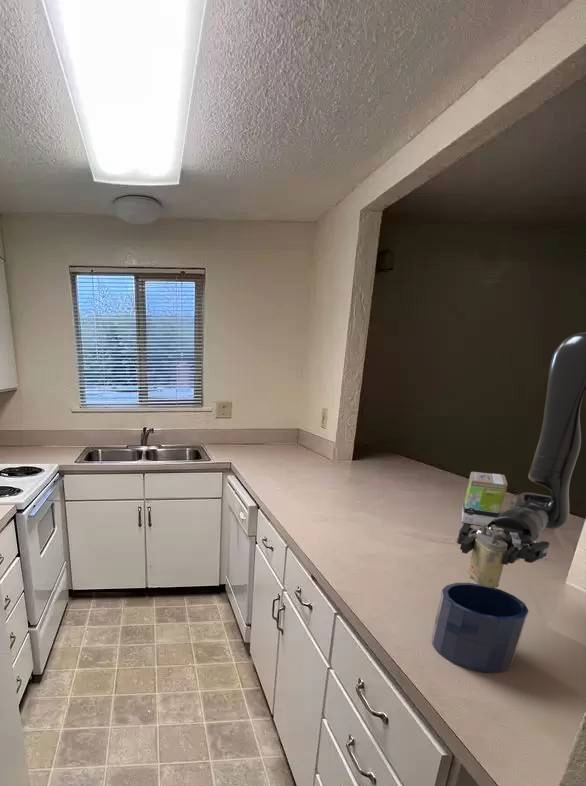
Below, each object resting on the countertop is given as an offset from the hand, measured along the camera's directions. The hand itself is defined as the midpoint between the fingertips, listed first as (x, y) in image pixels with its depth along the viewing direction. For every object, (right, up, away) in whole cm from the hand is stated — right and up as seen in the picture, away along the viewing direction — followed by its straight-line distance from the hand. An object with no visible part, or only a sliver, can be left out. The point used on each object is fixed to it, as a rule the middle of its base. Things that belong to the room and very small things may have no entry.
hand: (484, 553), depth 76 cm
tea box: (+48, +7, +72) cm, 87 cm away
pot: (+1, -19, +6) cm, 20 cm away
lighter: (+2, -5, +4) cm, 7 cm away
